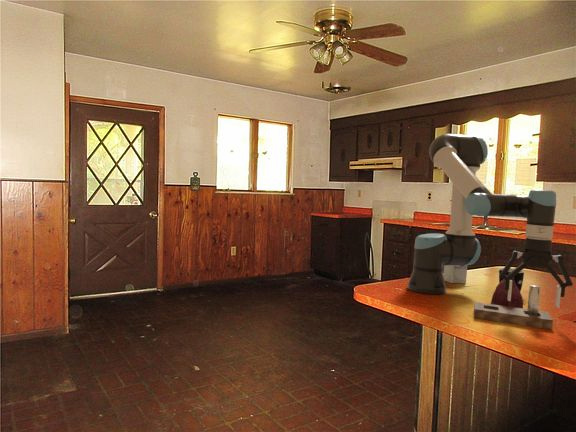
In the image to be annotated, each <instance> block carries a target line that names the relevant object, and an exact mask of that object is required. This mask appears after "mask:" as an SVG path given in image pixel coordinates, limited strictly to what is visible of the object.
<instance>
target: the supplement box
mask: <svg viewBox="0 0 576 432" xmlns="http://www.w3.org/2000/svg"><path fill="white" fill-rule="evenodd" d="M467 273H468V265H465V266H461V265H443V277H444V280H445V282H448V283H450V284H467V277H468V276H467V275H468V274H467Z"/></svg>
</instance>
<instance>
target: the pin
mask: <svg viewBox="0 0 576 432" xmlns="http://www.w3.org/2000/svg"><path fill="white" fill-rule="evenodd" d="M540 295H541V286H539V285H534V284H529V290H528V299H527V300H528V302H527V309H528V310H527V314H528V315H535V316H538V311H539V305H540Z"/></svg>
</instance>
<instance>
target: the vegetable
mask: <svg viewBox="0 0 576 432" xmlns="http://www.w3.org/2000/svg"><path fill="white" fill-rule="evenodd" d="M511 280H512V292H511V301H508V299H507V298H508V290H505V279H503V280H502V281H501V282H500V283H499V282H498V284H497V286H496V287H495V289H494V292H493V294H492V296H491V301H490V304H493V305H501V306H508V307H515V308H523V309H524V300H523V295H522V293H521V291H519V289H518V287H517V286H516V283H515V281H514V277H513V278H512V279H511Z"/></svg>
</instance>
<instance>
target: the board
mask: <svg viewBox="0 0 576 432" xmlns="http://www.w3.org/2000/svg"><path fill="white" fill-rule="evenodd" d="M473 307H474V308H473V313H474V314H473V315H474V317H473V318H474V319H477V318H478V320H479V319H480V320H484V319H486V320H485V321H491V320H492V321H491V322H498V323H505V324H512V325H517V326H518V325H519V326H525V327H532V328H538V329H545V330H549V331H550V330H551V331H553V323H554V319H553V318H552V316H551V315H550V314H549V312H548V311H543V310H538V316H535V315H528V314H527V310H528V308H524V307H523V308H515V307H508V306H501V305H493V304H491V303H486V302H479V301H478V302H477V301H474V306H473Z"/></svg>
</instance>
